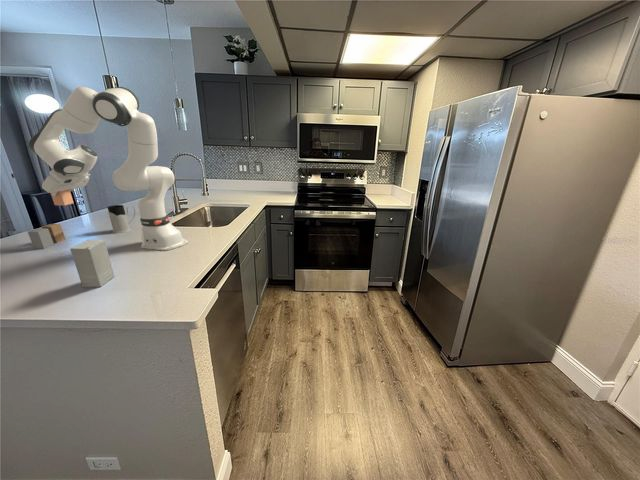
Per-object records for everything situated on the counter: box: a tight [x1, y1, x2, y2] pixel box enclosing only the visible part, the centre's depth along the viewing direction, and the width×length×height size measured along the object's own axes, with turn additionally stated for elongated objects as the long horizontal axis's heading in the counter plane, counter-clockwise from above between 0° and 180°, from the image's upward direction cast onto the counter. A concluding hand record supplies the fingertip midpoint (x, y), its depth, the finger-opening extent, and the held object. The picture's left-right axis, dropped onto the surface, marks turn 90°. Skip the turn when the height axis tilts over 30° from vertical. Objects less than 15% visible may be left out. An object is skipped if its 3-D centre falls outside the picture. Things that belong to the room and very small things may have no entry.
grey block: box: [27, 227, 55, 250], centre depth 128 cm, size 5×5×9 cm
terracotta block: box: [50, 190, 75, 206], centre depth 129 cm, size 5×5×9 cm
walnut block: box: [41, 223, 67, 244], centre depth 136 cm, size 5×5×9 cm
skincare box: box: [69, 239, 115, 288], centre depth 94 cm, size 8×7×16 cm
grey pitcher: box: [107, 204, 137, 234], centre depth 154 cm, size 9×14×15 cm, turn 152°
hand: (59, 194), depth 128 cm, fingers closed on terracotta block, 5 cm apart
